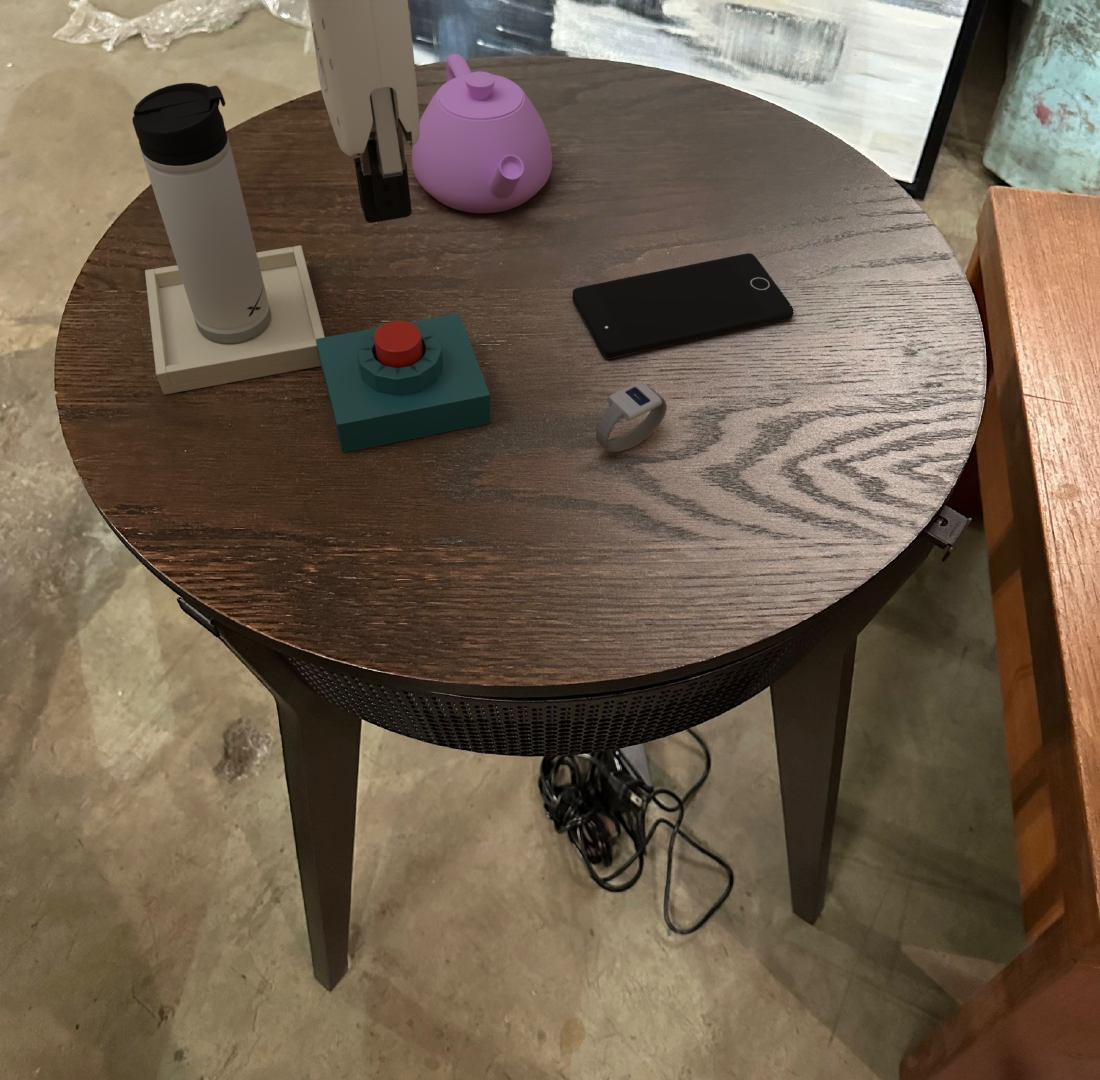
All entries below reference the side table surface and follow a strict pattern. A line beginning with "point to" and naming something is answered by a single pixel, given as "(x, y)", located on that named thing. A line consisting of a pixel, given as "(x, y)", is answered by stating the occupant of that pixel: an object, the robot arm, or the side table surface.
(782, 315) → the cell phone
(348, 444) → the block
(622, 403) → the wristwatch
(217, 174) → the travel mug
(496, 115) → the teapot
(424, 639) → the side table surface
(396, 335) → the button
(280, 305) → the tray
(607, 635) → the side table surface
